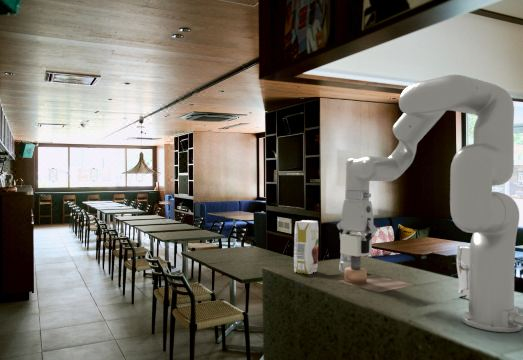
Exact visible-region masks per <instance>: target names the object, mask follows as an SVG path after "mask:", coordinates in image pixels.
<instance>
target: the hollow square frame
mask: <svg viewBox="0 0 523 360" xmlns="http://www.w3.org/2000/svg"><path fill="white" fill-rule="evenodd" d="M361 241H363V239H362V236H361V233H360V234H359V233H358V234H344V235H341V241H340V245H339V246H340V247H339V248H340V250H339V251H340V252H339V253H340V254H341V253H342V254H347V255H352V256H361V257H363V256H364V257H365V256H372V248H373V247H372V245H373V237H372V238H371V240H370V242H369V253H364V254H362V253H361Z"/></svg>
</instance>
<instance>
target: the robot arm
mask: <svg viewBox="0 0 523 360" xmlns="http://www.w3.org/2000/svg"><path fill="white" fill-rule="evenodd" d="M398 107H399V109H400V111H401V112H403V113H402V115H401V116H400V117H399V118H398V119H397V120H396V122H395V123H394V124H393V126H392V132H393V135H394V136H395V138H396V139H397V140H398V144H397V146H396V147H395V149H394V150H393V152H392V153H391V154H390V155H389V156H387V157H385V156H370V155H369V156H363V157H351V158H347V160H346V161H345V162H346V163H345V195H344V197H345V199H344V200H343V204H342V210H341V220H340V221H339V222H338V223H337V224H336V227H337V229H338V231H339V234H340V233H341V235H344V234H351V232H352V231H355V232H357V233H360V234H361V236H362V239H363V241H361V253H362V254H364V253H369V242H370V240H371V238H372V239H373V237H375V235H376V233H377V232H378V228H377V226H376V225H374V211H373V204H372V201H371V200H370V198H372V194H371V193H370V182H392V181H395V180H397V179H398V178H399V177H401V176H402V175H403V174H404V173H405V171H406V170H408V168H409V167H410V166H411V165H412V163H413V161H414V159H415V156H416V154H417V147H418V143H419V142H420V141H421V140H422V139H423V138H424V136H425V135H427V133H428V132H429V131H430V130H431V129H432V128H433V127H434V126H435V125H436V123H437V122H438V121H439V120H440V119H441V118H442V116H444V114H445V113H446V112H447V111H453V112H459V113H464V114H468V115H476V116H477V118H476V121H475V124H474V126H473V143H472V144H467V145H464V146H463V147H461V148H460V149H459V150H458V151H457V152H456V153H455V154H454V155H453V158H452V162H451V164H450V172H449V173H450V175H449V176H450V178H449V180H450V183H449V184H450V185H449V186H450V187H449V188H450V190H449V198H450V199H449V205H450V206H449V207H450V216H451V218H452V219H451V220H452V222H453V223H454V225H455V226H456V227H457V228H458V229H460V230H461V231H462V232H465V233H470V234H472V236H471V238H470V245H469V246H470V261H469V300H468V311H467V312H462V314H461V321H462V322H463V323H464V324H466V325H468V326H471V327H473V328H476V329H480V330H483V331H487V332H489V331H490V332H495V333H496V332H498V333H517V332H520V331H521V329H522V327H523V315H521V313H519V308H518V307H515V267H516V265H515V263H516V262H515V261H516V241H517V233H518V227H519V222H520V211H519V206H518V204H517V203H516V201H515V200H514V199H513V198H512V197H511V196H509V195H508V194H506V193H503V192H500V191H493V187H495V186H501V185H504V184H506V183H508V182H509V181H510V179H511V178H512V177H513V174H514V169H515V168H514V166H515V163H514V161H515V160H514V152H515V151H514V150H515V149H514V144H515V143H514V139H515V138H514V136H515V135H514V124H515V123H514V119H515V105H514V101H513V98H512V96H511V94H510V93H509V92H508V91H507V90H506V89H505V88H503V87H501V86H499V85H496V84H494V83H491V82H488V81H484V80H481V79H478V78H472V77H470V76H466V75H462V74H461V75H460V74H448V75H443V76H438V77H434V78H431V79H426V80H422V81H418V82H414V83H412V84H410V85H408V86H406V88H404V89H403V90H402V92H401V93H400V96H399V99H398Z"/></svg>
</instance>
